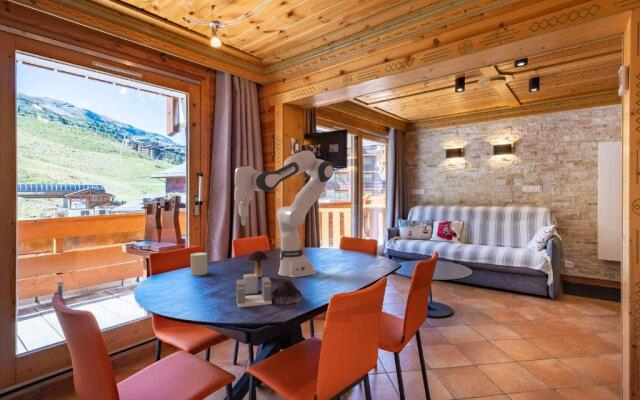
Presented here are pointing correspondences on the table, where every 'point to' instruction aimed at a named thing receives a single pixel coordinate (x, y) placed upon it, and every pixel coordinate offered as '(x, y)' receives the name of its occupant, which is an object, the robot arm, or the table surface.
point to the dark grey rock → (287, 293)
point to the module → (251, 283)
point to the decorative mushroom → (258, 261)
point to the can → (198, 264)
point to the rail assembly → (254, 299)
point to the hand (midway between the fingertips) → (243, 224)
